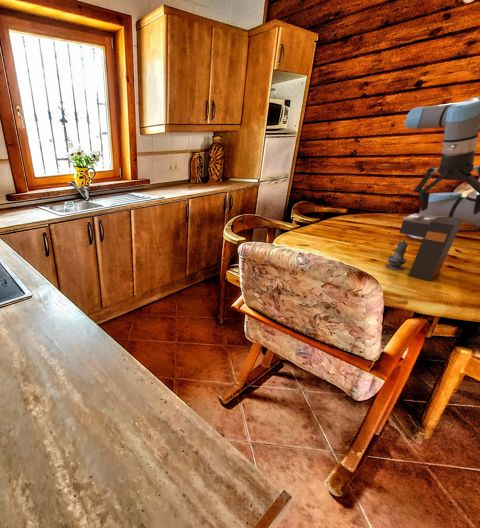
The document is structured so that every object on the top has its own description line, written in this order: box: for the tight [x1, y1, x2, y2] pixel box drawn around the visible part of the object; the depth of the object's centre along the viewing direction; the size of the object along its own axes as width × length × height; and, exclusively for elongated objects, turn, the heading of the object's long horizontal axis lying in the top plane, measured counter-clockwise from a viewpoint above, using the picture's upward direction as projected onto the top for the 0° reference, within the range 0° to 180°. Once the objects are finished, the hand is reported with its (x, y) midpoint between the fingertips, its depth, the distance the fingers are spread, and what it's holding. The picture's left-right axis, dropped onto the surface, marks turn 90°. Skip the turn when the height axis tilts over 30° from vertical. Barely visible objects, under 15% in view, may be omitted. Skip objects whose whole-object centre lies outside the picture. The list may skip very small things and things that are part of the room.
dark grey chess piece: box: [385, 239, 409, 271], centre depth 114 cm, size 6×6×12 cm
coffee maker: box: [398, 212, 463, 282], centre depth 107 cm, size 13×13×22 cm
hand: (449, 211), depth 102 cm, fingers open, 13 cm apart
